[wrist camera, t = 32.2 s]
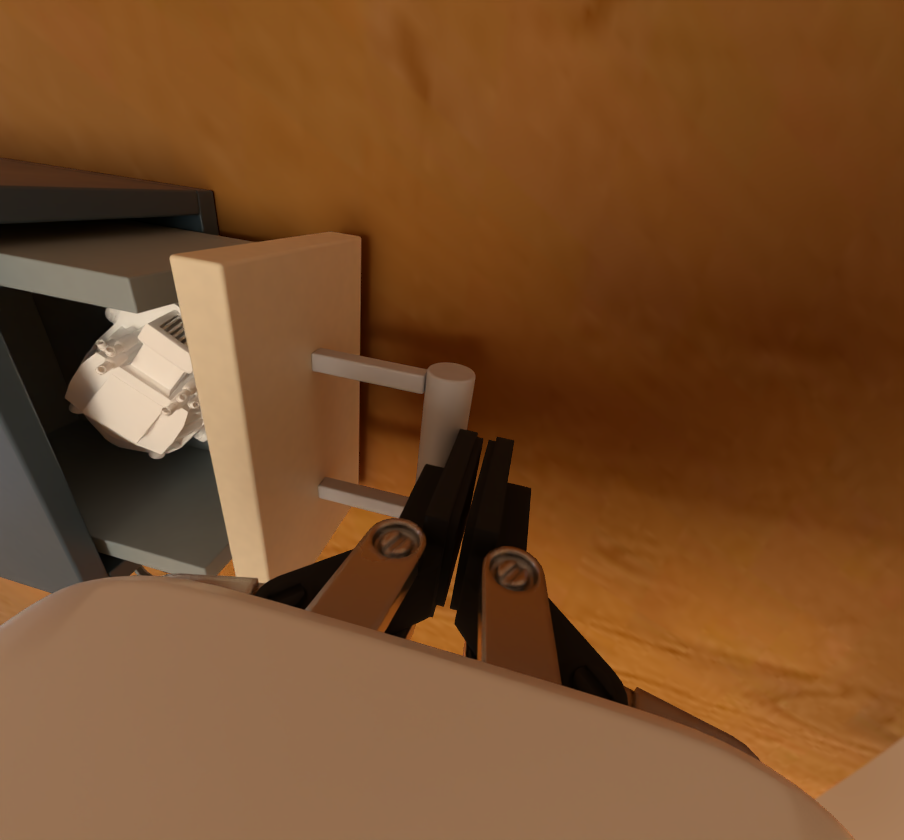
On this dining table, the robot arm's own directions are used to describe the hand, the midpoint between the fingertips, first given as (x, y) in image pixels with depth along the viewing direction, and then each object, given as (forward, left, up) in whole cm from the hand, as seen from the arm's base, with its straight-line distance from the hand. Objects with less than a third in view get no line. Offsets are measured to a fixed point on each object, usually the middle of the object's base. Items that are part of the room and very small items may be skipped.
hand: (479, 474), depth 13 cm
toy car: (+7, -9, -2) cm, 12 cm away
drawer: (+7, -8, -4) cm, 11 cm away
